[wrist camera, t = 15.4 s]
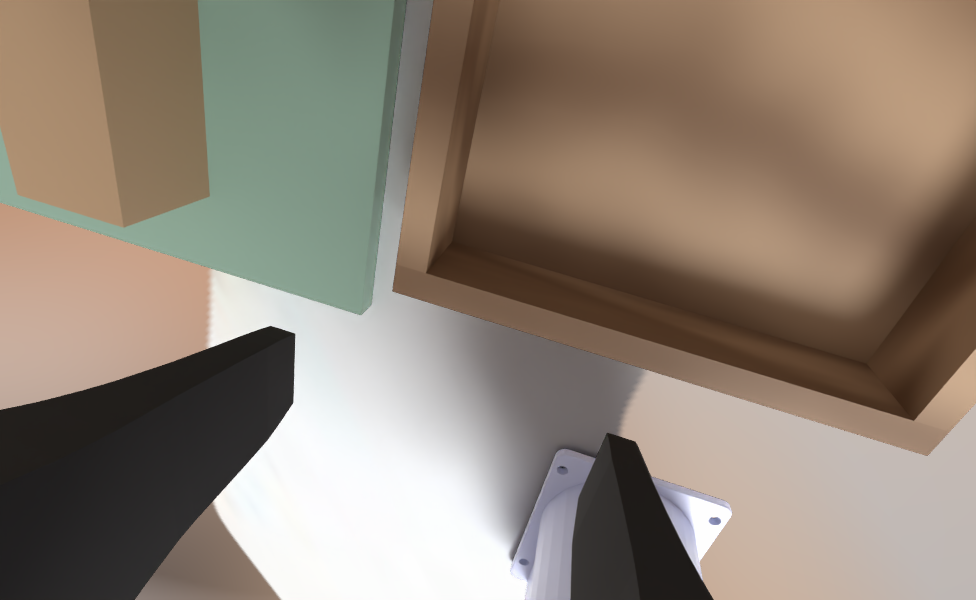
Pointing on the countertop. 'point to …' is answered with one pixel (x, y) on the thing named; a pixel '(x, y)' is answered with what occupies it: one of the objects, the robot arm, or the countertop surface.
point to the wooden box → (713, 194)
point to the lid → (209, 130)
